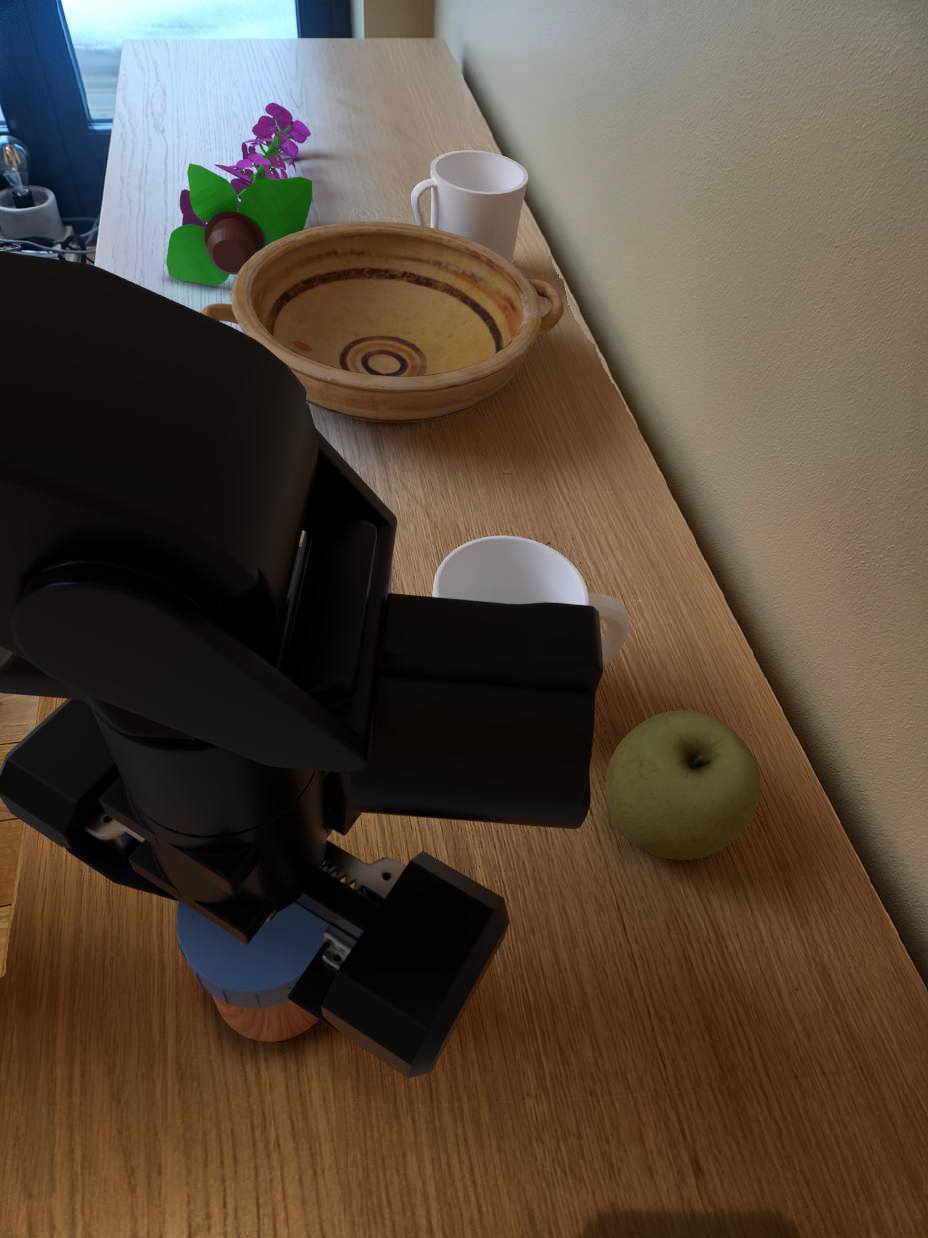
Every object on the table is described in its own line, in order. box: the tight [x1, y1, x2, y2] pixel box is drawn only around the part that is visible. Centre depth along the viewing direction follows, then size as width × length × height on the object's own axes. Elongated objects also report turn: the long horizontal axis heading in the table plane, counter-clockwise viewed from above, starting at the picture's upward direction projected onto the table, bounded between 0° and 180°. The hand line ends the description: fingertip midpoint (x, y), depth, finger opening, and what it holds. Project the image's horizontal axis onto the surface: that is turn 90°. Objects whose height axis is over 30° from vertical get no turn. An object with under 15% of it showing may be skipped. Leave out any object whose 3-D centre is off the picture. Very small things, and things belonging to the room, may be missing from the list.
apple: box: [604, 709, 762, 861], centre depth 46 cm, size 8×8×7 cm
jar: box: [211, 994, 320, 1043], centre depth 39 cm, size 6×6×8 cm
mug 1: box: [410, 149, 529, 264], centre depth 81 cm, size 11×9×10 cm
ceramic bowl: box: [199, 220, 565, 424], centre depth 70 cm, size 30×24×8 cm
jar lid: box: [175, 866, 336, 1010], centre depth 36 cm, size 7×7×2 cm
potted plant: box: [166, 102, 313, 286], centre depth 85 cm, size 12×16×35 cm
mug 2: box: [431, 535, 631, 667], centre depth 50 cm, size 12×8×10 cm
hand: (267, 935), depth 37 cm, fingers closed on jar lid, 6 cm apart
